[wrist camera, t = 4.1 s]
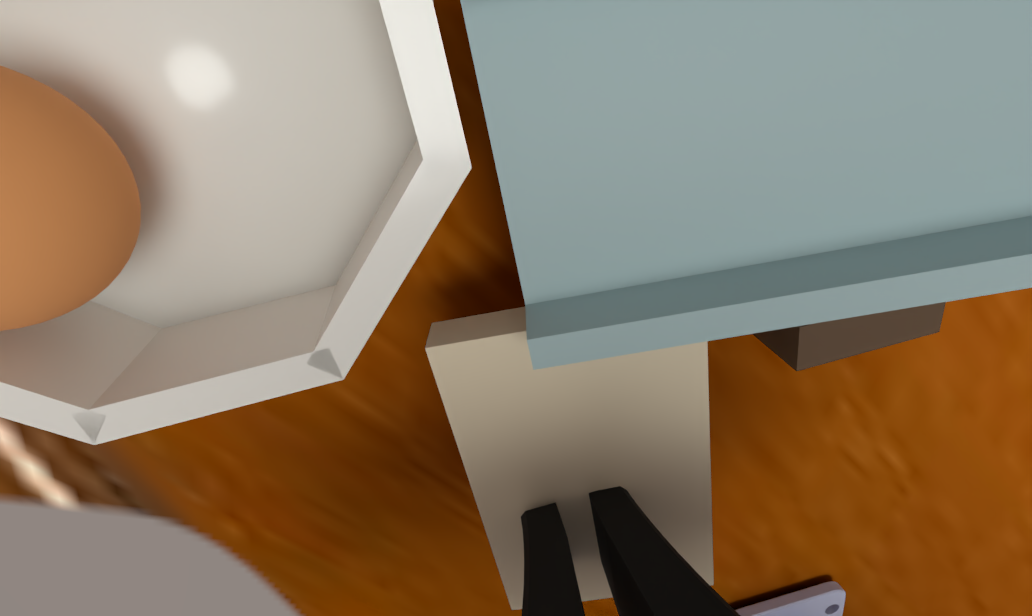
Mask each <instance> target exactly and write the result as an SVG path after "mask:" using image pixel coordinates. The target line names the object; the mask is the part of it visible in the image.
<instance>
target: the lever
mask: <svg viewBox="0 0 1032 616" xmlns="http://www.w3.org/2000/svg"><path fill="white" fill-rule="evenodd" d="M460 2H461V6H462V11H463V16H464V20H465V25H466V30H467V34H468V39H469V44H470V48H471V53H472V58H473V63H474V67H475V72H476V77H477V81H478V86H479V91H480V95H481V100H482V105H483V109H484V114H485V119H486V123H487V128H488V133H489V138H490V142H491V147H492V152H493V156H494V161H495V166H496V170H497V175H498V180H499V184H500V189H501V194H502V198H503V203H504V208H505V213H506V217H507V222H508V227H509V231H510V236H511V241H512V245H513V250H514V255H515V259H516V264H517V269H518V274H519V278H520V283H521V288H522V292H523V297H524V302H525V307H520V308H514V309H508V310H502V311H497V312H491V313H485V314H480V315H474V316H468V317H463V318H457V319H451V320H446V321H440V322H434V323H432V324H431V328H430V331H429V335H428V339H427V342H426V346H425V350H426V353H427V356H428V359H429V362H430V365H431V368H432V371H433V374H434V377H435V380H436V383H437V386H438V389H439V392H440V395H441V398H442V401H443V404H444V407H445V410H446V413H447V416H448V419H449V422H450V425H451V428H452V431H453V434H454V437H455V440H456V443H457V446H458V449H459V452H460V455H461V458H462V461H463V464H464V467H465V470H466V473H467V477H468V480H469V483H470V486H471V489H472V492H473V495H474V498H475V501H476V504H477V507H478V510H479V513H480V516H481V519H482V522H483V525H484V528H485V531H486V534H487V537H488V540H489V543H490V546H491V549H492V552H493V555H494V558H495V561H496V564H497V567H498V570H499V573H500V576H501V579H502V582H503V585H504V588H505V591H506V594H507V597H508V600H509V603H510V606H511V609H512V610H517V609H522V604H523V589H524V542H523V529H522V522H521V516H522V514H523V513H524V512H525V511H527V510H530V509H534V508H537V507H541V506H544V505H548V504H551V503H555V502H556V505H557V507H558V510H559V513H560V516H561V519H562V522H563V525H564V528H565V531H566V534H567V537H568V542H569V546H570V551H571V555H572V560H573V564H574V569H575V573H576V578H577V582H578V587H579V591H580V596H581V600H582V601H589V600H597V599H605V598H613V596H612V593H611V590H610V587H609V584H608V581H607V578H606V574H605V571H604V568H603V565H602V562H601V558H600V553H599V547H598V542H597V536H596V531H595V525H594V520H593V514H592V509H591V503H590V498H589V493H590V492H594V491H597V490H602V489H608V488H613V487H618V486H621V487H623V488H624V489H626V490H627V491H628V493H629V494H630V495H631V497H632V498H633V499H634V501H635V502H636V503H637V505H638V506H639V507H640V509H641V510H642V511H643V512H644V514H645V515H646V516H647V517H648V518H649V520H650V521H651V522H652V523H653V524H654V526H655V527H656V528H657V529H658V530H659V531H660V533H661V534H662V535H663V536H664V537H665V538H666V540H667V541H668V542H669V543H670V544H671V545H672V546H673V547H674V548H675V550H676V551H677V552H678V553H679V554H680V555H681V556H682V557H683V558H684V559H685V560H686V561H687V562H688V563H689V564H690V566H691V567H692V568H693V569H694V570H695V571H696V572H697V573H698V574H699V575H700V576H701V577H702V578H703V579H704V580H705V581H706V582H707V583H708V584H709V585H714V576H713V537H712V499H711V460H710V422H709V384H708V345H707V341H711V340H718V339H724V338H730V337H736V336H742V335H748V334H754V333H760V332H766V331H772V330H778V329H784V328H790V327H796V326H802V325H808V324H814V323H820V322H826V321H833V320H839V319H845V318H851V317H857V316H863V315H869V314H875V313H881V312H887V311H893V310H899V309H905V308H911V307H917V306H923V305H929V304H935V303H941V302H948V301H954V300H960V299H966V298H972V297H978V296H984V295H990V294H996V293H1002V292H1008V291H1014V290H1020V289H1026V288H1032V0H460Z"/></svg>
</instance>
